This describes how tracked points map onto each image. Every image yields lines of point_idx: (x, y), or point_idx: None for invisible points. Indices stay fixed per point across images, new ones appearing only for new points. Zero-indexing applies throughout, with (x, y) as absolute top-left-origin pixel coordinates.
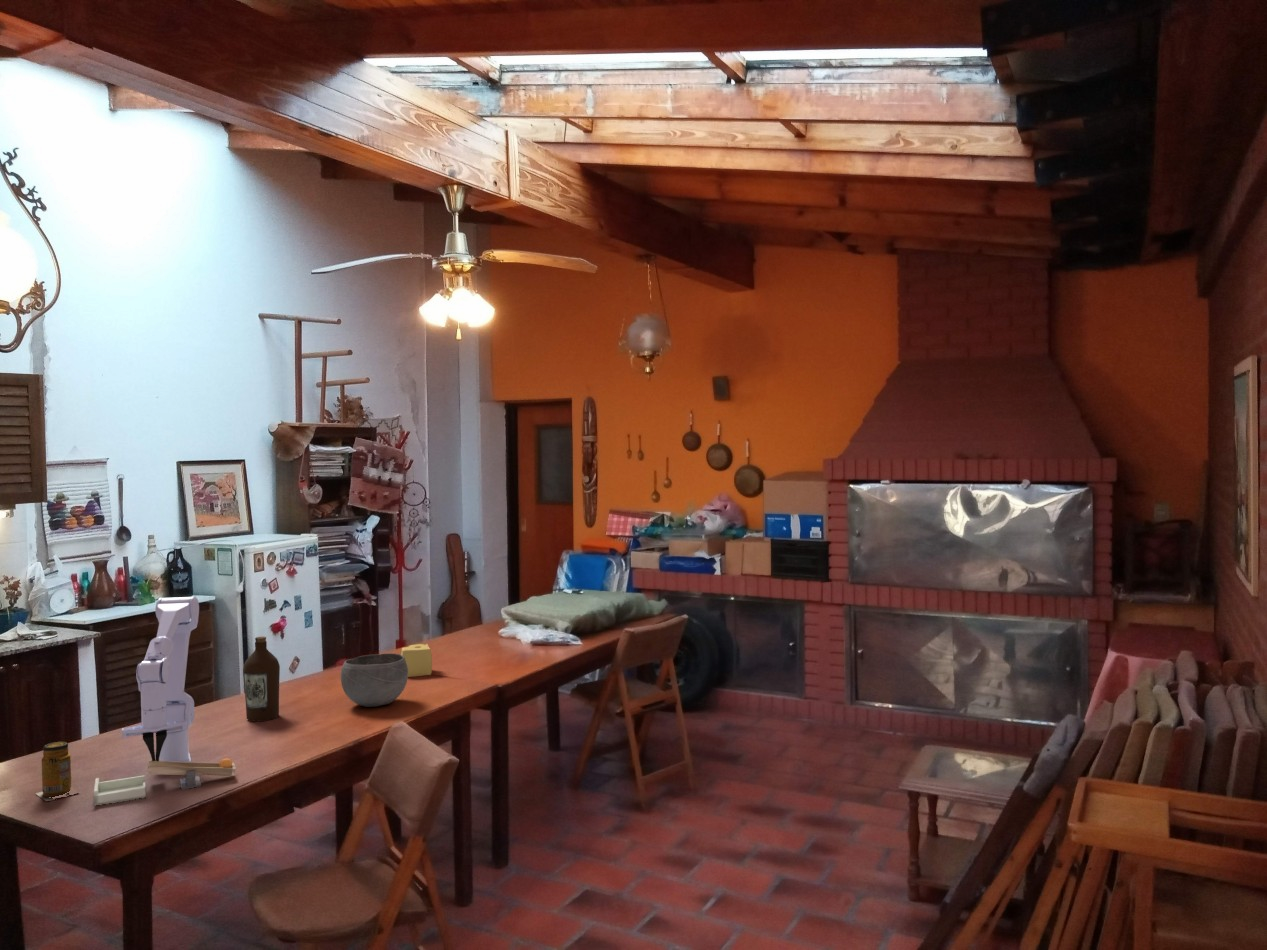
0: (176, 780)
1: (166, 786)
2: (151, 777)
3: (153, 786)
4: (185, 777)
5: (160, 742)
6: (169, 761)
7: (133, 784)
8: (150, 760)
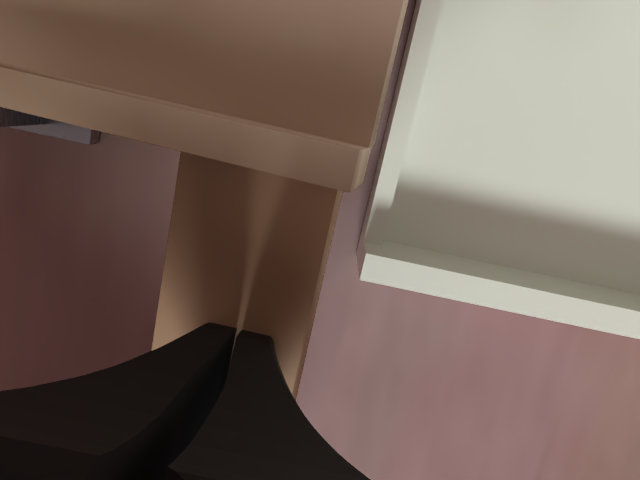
0: (122, 190)
1: None
2: None
3: None
4: None
5: (67, 407)
6: (97, 130)
7: (453, 257)
8: None
